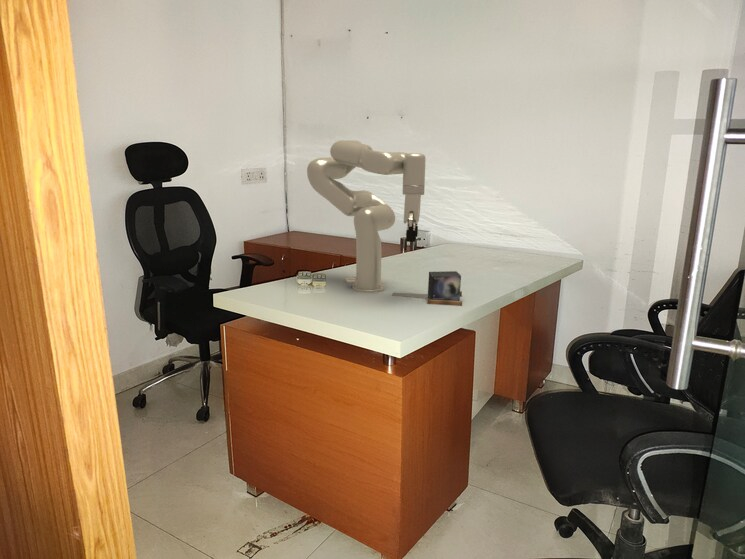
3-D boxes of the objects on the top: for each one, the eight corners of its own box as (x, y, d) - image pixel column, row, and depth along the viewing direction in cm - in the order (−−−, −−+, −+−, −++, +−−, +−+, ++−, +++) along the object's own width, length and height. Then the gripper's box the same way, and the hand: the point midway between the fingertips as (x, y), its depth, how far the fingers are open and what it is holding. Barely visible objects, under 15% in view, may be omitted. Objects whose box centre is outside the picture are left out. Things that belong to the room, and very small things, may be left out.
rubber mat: (389, 302, 185) (389, 301, 184) (392, 293, 195) (392, 292, 195) (425, 304, 183) (426, 303, 182) (427, 295, 193) (427, 294, 193)
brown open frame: (427, 306, 181) (427, 300, 181) (429, 294, 194) (429, 289, 194) (461, 308, 179) (462, 302, 179) (461, 296, 193) (461, 291, 192)
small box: (431, 304, 183) (432, 275, 180) (426, 299, 189) (427, 271, 186) (460, 303, 184) (461, 275, 182) (455, 298, 191) (456, 270, 188)
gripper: (405, 187, 187) (403, 234, 192) (400, 192, 171) (398, 243, 175) (425, 188, 186) (424, 235, 191) (422, 192, 170) (420, 244, 174)
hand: (411, 239), depth 183 cm, fingers open, 9 cm apart
